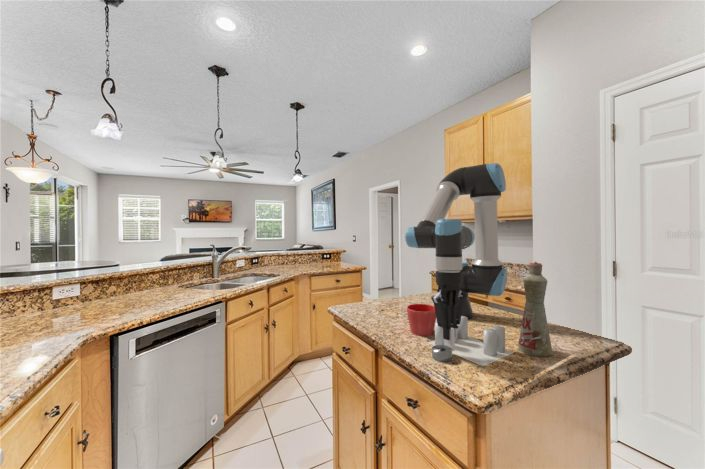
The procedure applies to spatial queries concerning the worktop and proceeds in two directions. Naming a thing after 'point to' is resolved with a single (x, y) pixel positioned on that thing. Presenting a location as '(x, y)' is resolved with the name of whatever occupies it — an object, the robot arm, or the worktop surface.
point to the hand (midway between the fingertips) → (449, 349)
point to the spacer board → (476, 343)
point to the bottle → (535, 315)
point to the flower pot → (421, 319)
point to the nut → (442, 353)
